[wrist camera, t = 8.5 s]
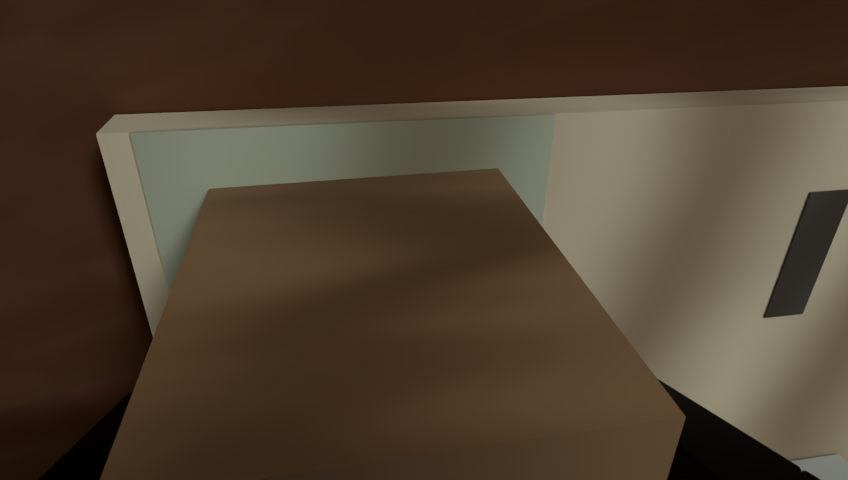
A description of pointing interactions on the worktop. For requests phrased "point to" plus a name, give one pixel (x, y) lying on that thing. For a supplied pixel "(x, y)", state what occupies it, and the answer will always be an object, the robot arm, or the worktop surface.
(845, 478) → the grey block
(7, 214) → the worktop surface
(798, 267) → the board
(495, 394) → the walnut block
